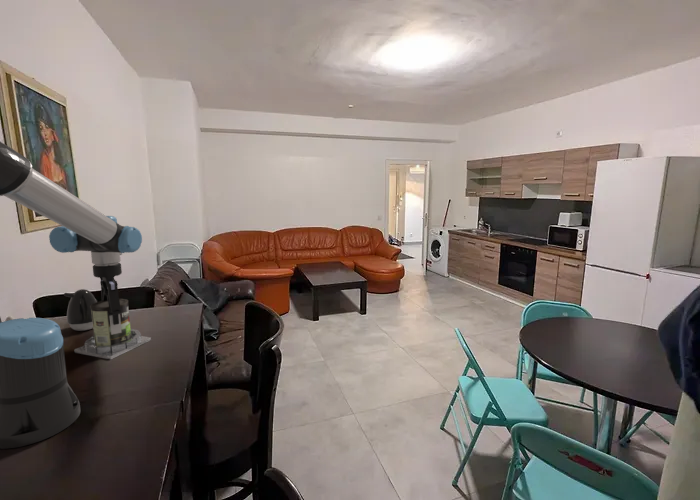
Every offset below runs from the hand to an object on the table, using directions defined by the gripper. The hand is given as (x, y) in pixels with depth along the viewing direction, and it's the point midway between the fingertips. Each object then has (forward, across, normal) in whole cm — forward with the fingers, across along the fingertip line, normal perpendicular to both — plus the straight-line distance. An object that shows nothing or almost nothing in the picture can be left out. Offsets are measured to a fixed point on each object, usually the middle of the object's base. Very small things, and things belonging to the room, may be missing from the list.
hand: (112, 328), depth 113 cm
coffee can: (+6, 0, 0) cm, 6 cm away
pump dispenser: (+7, +25, +5) cm, 26 cm away
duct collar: (+6, 0, 0) cm, 6 cm away
